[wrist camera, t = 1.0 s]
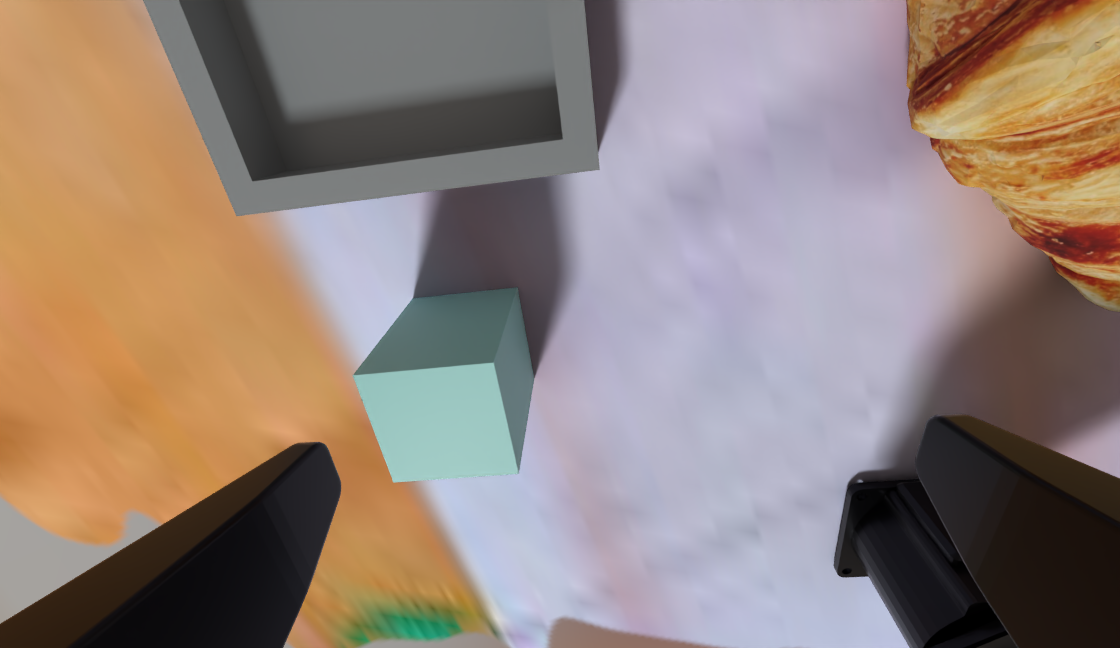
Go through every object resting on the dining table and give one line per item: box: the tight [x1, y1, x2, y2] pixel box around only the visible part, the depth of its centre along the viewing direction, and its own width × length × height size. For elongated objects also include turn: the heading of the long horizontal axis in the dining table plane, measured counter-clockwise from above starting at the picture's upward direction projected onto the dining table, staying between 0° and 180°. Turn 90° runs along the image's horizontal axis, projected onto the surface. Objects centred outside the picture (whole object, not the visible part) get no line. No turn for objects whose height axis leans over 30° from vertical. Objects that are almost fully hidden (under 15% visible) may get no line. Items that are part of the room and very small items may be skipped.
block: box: [353, 287, 534, 482], centre depth 18 cm, size 4×4×6 cm
